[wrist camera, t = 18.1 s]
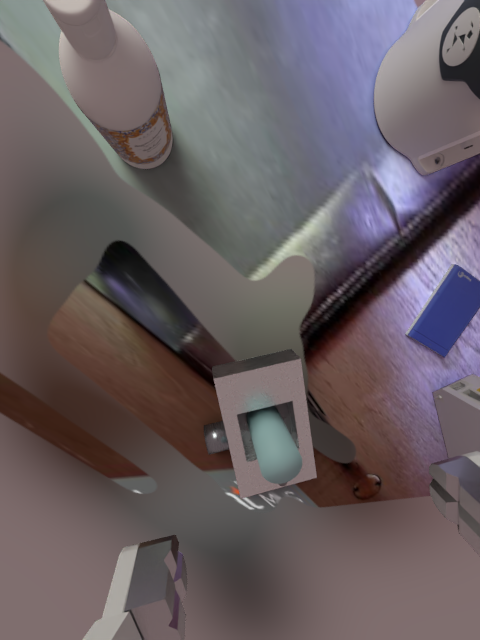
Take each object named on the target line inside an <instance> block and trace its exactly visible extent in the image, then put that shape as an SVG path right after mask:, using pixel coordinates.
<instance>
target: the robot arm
mask: <svg viewBox="0 0 480 640" xmlns="http://www.w3.org/2000/svg"><path fill="white" fill-rule="evenodd" d="M374 108H375V114H376V118H377V122H378V125H379V127H380V130H381V132H382V134H383V135H384V137H385V138H386V140H387V141H388V142H389V144H390V145H391V146H392V147H393V148H395V149H396V150H397V151H399V152H400V153H402V154H403V155H405V156H407V157H408V158H409V159H410V160H411V162H412V163H413V165H414V167H415V168H416V170H417V171H418V172H419V173H420V174H421V175H429V174H431V173H434V172H436V171H439V170H441V169H444V168H446V167H448V166H451V165H453V164H456V163H458V162H461V161H463V160H465V159H468V158H470V157H473V156H475V155H478V154H480V0H426V1H425V2H424V3H423V4H422V5H420V6H419V7H418V9H417V10H416V12H415V14H414V16H413V18H412V20H411V22H410V24H409V27H408V29H407V30H406V32H405V33H404V34H403V35H402V36H401V37H400V38H399V39H398V40H397V41H396V42H395V43H394V45H393V46H392V47H391V48H390V50H389V51H388V52H387V54H386V56H385V57H384V59H383V61H382V63H381V66H380V68H379V71H378V74H377V78H376V82H375V89H374ZM435 160H436V163H435ZM429 474H430V475H431V476H432V477H433V480H432V481H431V483H430V485H429V486H430V495H431V497H432V499H433V502H434V504H435V505H436V507H437V508H438V510H439V511H440V512H441V513H442V515H443V516H444V517H445V518H446V519H447V520H449V521H451V522H453V523H455V524H457V525H458V530H459V534H460V535H461V536H462V537H463V538H464V539H465V541H466V542H467V543H468V544H469V545H470V546H471V547H472V548H473V549H474V551H475V552H476V553H477V554H478V555H479V556H480V452H478V451H475V452H471V453H468V454H464V455H461V456H455V457H452V458H449V459H445V460H442V461H438V462H435V463H432V464H431V465H430V467H429ZM178 546H179V542H178V540H177V537H176V535H172V536H168V537H164V538H159V539H155V540H151V541H147V542H143V543H139V544H135V545H132V546H128V547H124V548H123V549H122V551H121V553H120V555H119V558H118V562H117V565H116V569H115V573H114V576H113V580H112V584H111V587H110V591H109V594H108V598H107V602H106V605H105V609H104V612H103V616H102V619H100V620H97V621H95V623H94V624H93V626H92V627H91V629H90V630H89V631H88V633H87V634H86V635H85V637H84V638H83V640H184V636H185V617H186V614H185V611H184V608H183V605H182V602H183V600H184V598H185V596H186V594H187V573H186V564H185V560H184V557H183V554H182V553H180V552H179V551H178Z"/></svg>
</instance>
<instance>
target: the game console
mask: <svg viewBox="0 0 480 640" xmlns="http://www.w3.org/2000/svg"><path fill="white" fill-rule="evenodd" d="M432 393H433V397H434V401H435V405H436V409H437V413H438V417H439V421H440V425H441V429H442V433H443V438H444V442H445V446H446V450H447V454H448V458H452V457H455V456H461V455H464V454H468V453H471V452H475V451H478V452H480V377H478V376H476V375H473V374H472V375H469V376H467V377H465V378H462V379H460V380H458V381H456V382H454V383H452V384H449V385H447V386H445V387H443V388H441V389H439V390H437V391H435V392H432Z"/></svg>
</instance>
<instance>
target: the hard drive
mask: <svg viewBox="0 0 480 640" xmlns="http://www.w3.org/2000/svg"><path fill="white" fill-rule="evenodd" d="M479 308H480V281H479V280H478V279H476V278H475V277H474V276H472V275H471V274H470V273H468V272H467V271H465V270H464V269H463V268H461V267H460V266H458V265H456V264H452V265H451V266H450V268H449V269H448V271H447V272H446V274H445V275H444V277H443V278H442V280H441V281H440V283H439V284H438V286H437V287H436V289H435V290H434V292H433V293H432V295H431V296H430V298H429V299H428V301H427V302H426V304H425V305H424V307H423V308H422V310H421V311H420V313H419V314H418V316H417V317H416V319H415V320H414V322H413V323H412V325H411V326H410V328H409V329H408V331H407V332H406V335H407V336H409V337H411V338H412V339H414V340H416V341H417V342H419V343H420V344H422V345H424V346H425V347H427V348H429V349H430V350H432V351H434V352H435V353H437V354H439V355H440V356H442V357H445V356H446V355H447V354H448V352H449V350H450V349H451V348H452V346H453V345H454V343H455V342H456V340H457V339H458V338H459V336H460V335H461V333H462V332H463V331H464V329H465V328H466V326H467V325H468V324H469V322H470V321H471V319H472V318H473V316H474V315H475V314H476V312H477V311H478V309H479Z"/></svg>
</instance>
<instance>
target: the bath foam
mask: <svg viewBox="0 0 480 640" xmlns="http://www.w3.org/2000/svg"><path fill="white" fill-rule="evenodd" d="M43 1H44V3H45V4H46V6H47V8H48V9H49V11H50V12H51V14H52V16H53V17H54V19H55V21H56V22H57V24H58V25H59V27H60V29H61V30H62V31H61V35H60V41H59V59H60V65H61V70H62V74H63V77H64V80H65V82H66V85H67V87H68V89H69V91H70V93H71V95H72V97H73V99H74V101H75V102H76V104H77V105H78V107H79V108H80V109H81V111H82V112H83V113H84V114H85V116H86V117H87V118H88V119H89V120H90V122H91V123H92V124H93V125H94V126H95V128H96V129H97V130H98V131H99V132H100V134H101V135H102V136H103V137H104V138H105V140H106V141H107V142H108V143H109V144H110V146H111V147H112V148H113V149H114V150H115V152H116V153H117V154H118V155H119V156H120V157H121V158H122V159H123V160H124V161H125V162H127V163H128V164H130V165H131V166H134V167H136V168H140V169H151V168H155V167H157V166H159V165H160V164H162V163H163V162H164V161H165V160H166V159H167V157H168V156H169V154H170V151H171V148H172V142H173V136H172V130H171V124H170V120H169V115H168V111H167V106H166V102H165V97H164V92H163V88H162V83H161V79H160V74H159V70H158V67H157V65H156V62H155V60H154V58H153V55H152V53H151V51H150V49H149V48H148V46H147V44H146V42H145V41H144V39H143V38H142V37H141V35H140V34H139V33H138V31H137V30H136V29H135V28H134V27H133V26H132V25H131V24H130V23H129V22H128V21H127V20H125V19H124V18H123V17H121V16H120V15H118V14H117V13H115V12H113V11H111V10H109V9H108V7H107V4H106V1H105V0H43Z"/></svg>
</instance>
